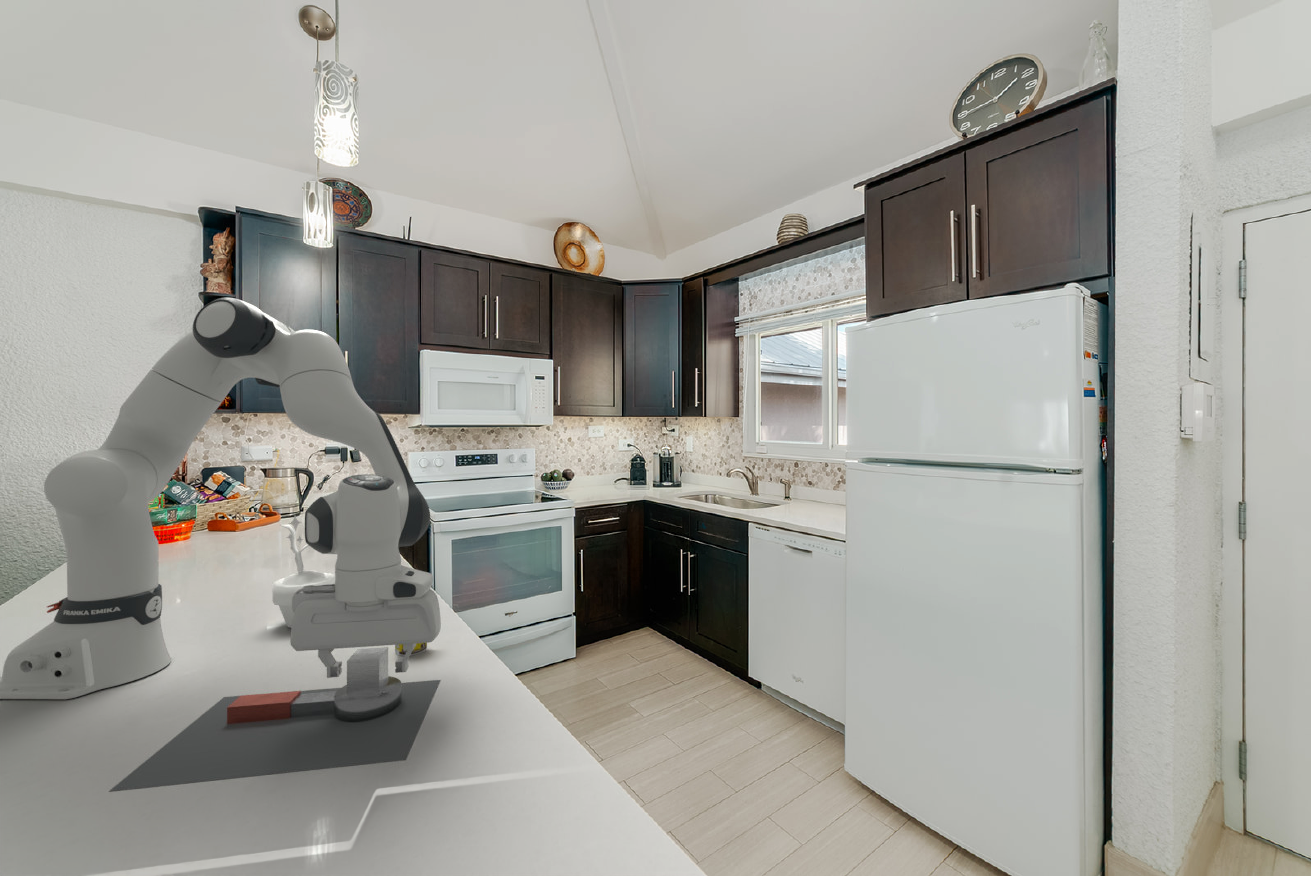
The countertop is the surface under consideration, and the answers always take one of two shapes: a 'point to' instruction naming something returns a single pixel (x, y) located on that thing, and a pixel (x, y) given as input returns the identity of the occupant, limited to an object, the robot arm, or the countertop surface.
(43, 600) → the countertop surface
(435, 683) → the mat
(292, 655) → the countertop surface
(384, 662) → the light grey block
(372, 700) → the ratchet
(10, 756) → the countertop surface
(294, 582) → the potted plant
